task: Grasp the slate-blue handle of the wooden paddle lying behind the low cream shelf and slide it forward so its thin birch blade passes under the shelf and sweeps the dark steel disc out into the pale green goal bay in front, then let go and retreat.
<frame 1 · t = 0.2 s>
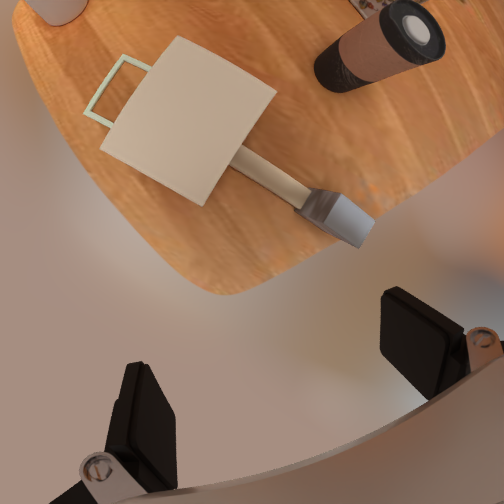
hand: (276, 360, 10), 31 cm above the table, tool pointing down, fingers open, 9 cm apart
travel mug: (334, 72, 37), on the table
paddle: (314, 208, 42), on the table
shelf: (188, 128, 35), on the table
goal: (125, 94, 32), on the table
milk bottle: (67, 8, 25), on the table
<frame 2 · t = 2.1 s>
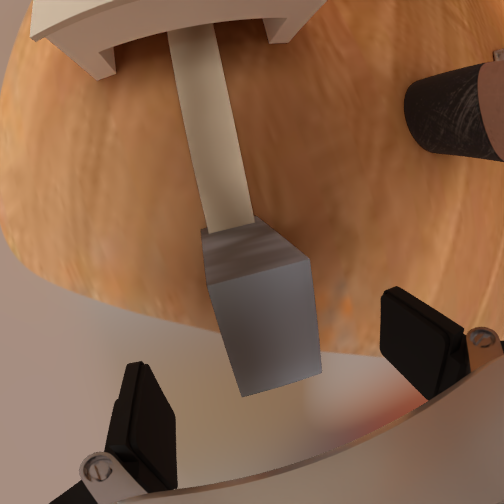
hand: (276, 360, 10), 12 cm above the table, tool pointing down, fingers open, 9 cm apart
travel mug: (429, 116, 21), on the table
paddle: (236, 255, 21), on the table
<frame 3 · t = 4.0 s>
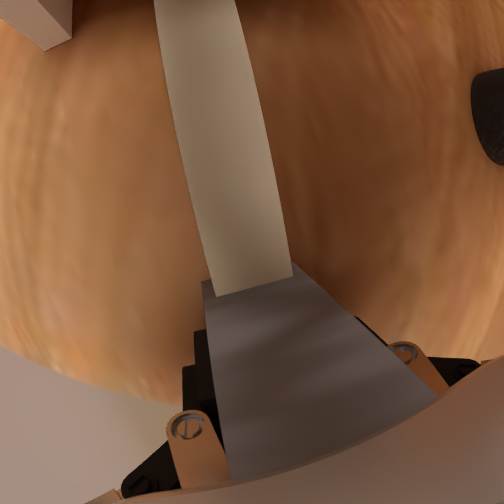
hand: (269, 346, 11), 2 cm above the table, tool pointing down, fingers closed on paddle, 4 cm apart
travel mug: (493, 118, 14), on the table
paddle: (257, 319, 13), on the table, touching gripper
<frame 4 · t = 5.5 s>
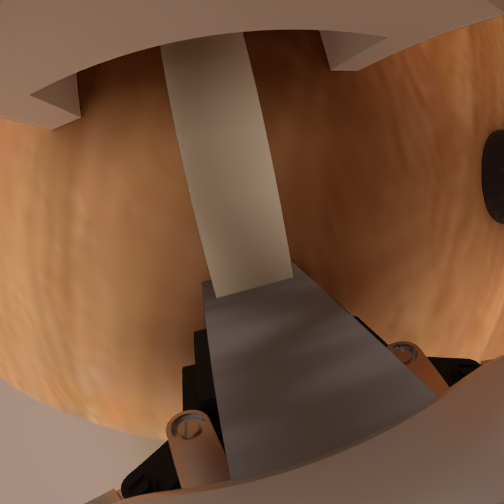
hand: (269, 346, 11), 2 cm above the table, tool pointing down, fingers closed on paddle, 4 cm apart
travel mug: (500, 176, 15), on the table
paddle: (257, 320, 13), on the table, touching gripper
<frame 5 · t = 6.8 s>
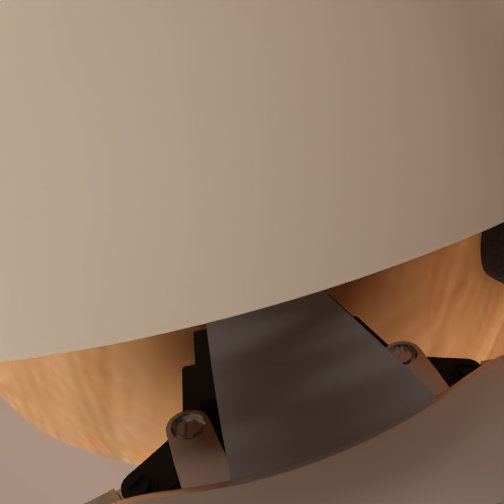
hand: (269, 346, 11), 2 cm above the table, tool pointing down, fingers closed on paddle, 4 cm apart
travel mug: (500, 232, 16), on the table
paddle: (257, 320, 13), on the table, touching gripper
shelf: (200, 53, 10), on the table
when the fingers open (2 cm above the table, at t = 8.1 s): paddle stays where it is, on the table.
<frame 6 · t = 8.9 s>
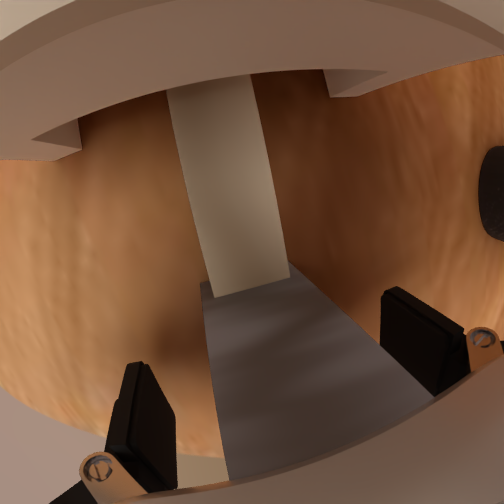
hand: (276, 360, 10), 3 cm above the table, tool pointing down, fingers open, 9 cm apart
travel mug: (497, 192, 16), on the table
paddle: (255, 319, 14), on the table
shelf: (186, 1, 9), on the table
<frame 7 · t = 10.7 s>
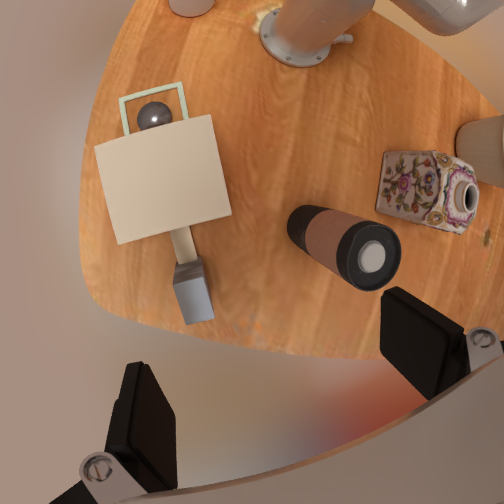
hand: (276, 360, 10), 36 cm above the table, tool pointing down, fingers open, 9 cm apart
travel mug: (306, 225, 48), on the table
decorative jar: (400, 187, 50), on the table
paddle: (192, 273, 46), on the table
shelf: (167, 178, 41), on the table
goal: (154, 113, 38), on the table
canister: (466, 150, 52), on the table
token: (155, 120, 39), on the table
milk bottle: (191, 2, 34), on the table
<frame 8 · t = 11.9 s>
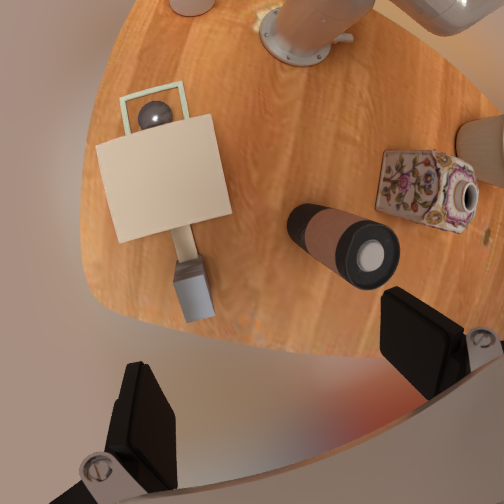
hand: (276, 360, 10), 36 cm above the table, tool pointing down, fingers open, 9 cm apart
travel mug: (306, 224, 48), on the table
decorative jar: (400, 186, 50), on the table
paddle: (193, 271, 46), on the table
shelf: (168, 176, 42), on the table
goal: (154, 112, 38), on the table
canister: (467, 150, 52), on the table
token: (156, 119, 39), on the table
milk bottle: (192, 2, 34), on the table
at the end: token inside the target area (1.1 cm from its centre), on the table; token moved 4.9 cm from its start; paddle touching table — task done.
